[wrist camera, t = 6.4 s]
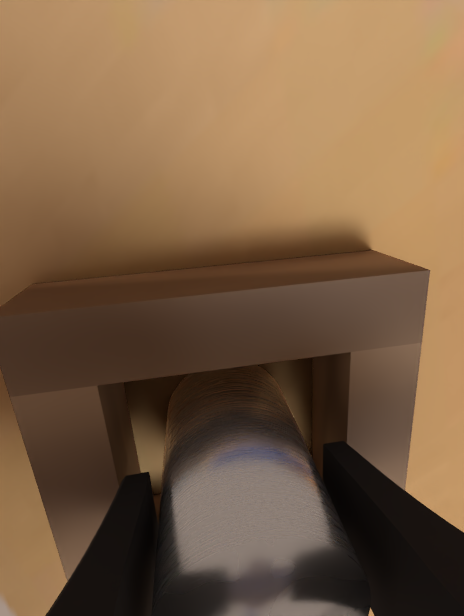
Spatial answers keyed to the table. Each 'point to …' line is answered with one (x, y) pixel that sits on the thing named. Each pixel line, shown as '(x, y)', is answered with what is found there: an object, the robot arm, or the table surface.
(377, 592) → the robot arm
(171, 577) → the metal peg
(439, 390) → the table surface
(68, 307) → the walnut socket block
